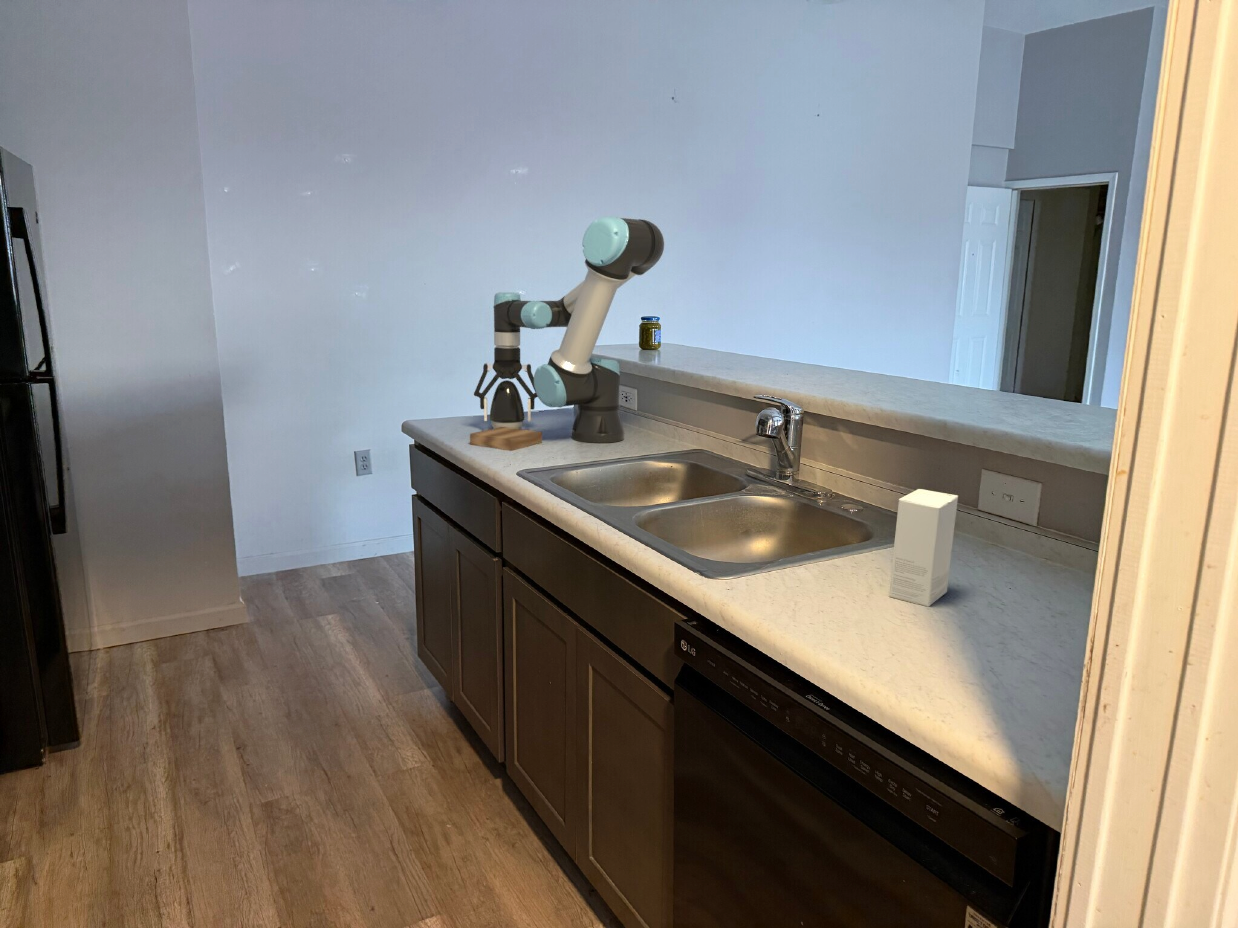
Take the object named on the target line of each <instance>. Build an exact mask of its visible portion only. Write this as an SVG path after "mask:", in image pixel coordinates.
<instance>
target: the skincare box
mask: <svg viewBox="0 0 1238 928" xmlns="http://www.w3.org/2000/svg"><path fill="white" fill-rule="evenodd" d="M958 501H959V495H957V494H950V493H945V492H939V491H935V490H934V491H933V490H927V489H923V488H917V489H916V490H914V491H912V492H910V493H908V494H907V495H905V496H902V497H901V498H898V507H897V513H896V514H897V516H896V526H895V533H894V534H895V535H894V536H895V537H894V543H893V544H894V545H893V555H892V564H891V574H890V580H889V583H890V584H889V589H888V590H889V591H888V597H889V598H892V599H895V600H900V601H905V602H908V603H912V604H916V605H919V606H924V607H930V606H931V605H933V604H934V603H935V602H936V601H938V600H939V599H940V598H941V597H943V595H945V594H946V593H947V592H948V583H949V575H950V568H951V567H950V566H951V558H952V552H953V551H952V550H953V542H954V534H955V532H954V531H955V525H956V517H957V509H958Z"/></svg>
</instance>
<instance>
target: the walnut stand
mask: <svg viewBox="0 0 1238 928" xmlns="http://www.w3.org/2000/svg"><path fill="white" fill-rule="evenodd" d="M542 443H543V432H542V431H538V430H529V429H521V428H520V429H515V428H507V427H498V428H490V429H485V430H481V431H476V432H472V433H469V444H470V446H478V447H483V448H490V449H491V448H492V449H497V448H498V449H499V450H503V451H504V450H505V451H516V450H520V449H522V448H528V447H532V446H535V445H538V444H542Z"/></svg>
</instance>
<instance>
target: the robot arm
mask: <svg viewBox="0 0 1238 928" xmlns="http://www.w3.org/2000/svg"><path fill="white" fill-rule="evenodd" d="M664 240H665V239H664V236H663V233H662V232H661V230H660V229H659V227H658V226H657V225H656V224H654V223H653V222H651V221H650V220H646V219H637V218H625V217H618V216H608V217H607V216H605V217H604V216H603V217H600V218H597V219H595V220H594V221H592V223H590V224H589V225H588V227H587V228H586V230H585V231H584V235H583V238H582V245H581V246H582V247H583V249H582V253H583V256H584V258H585V261H584V264H585V266H586V268H587V272H586V274H585V277H584V280H582V281H581V282H579V284H577V285H576V286H575V287H574V288H573V289H571V290H569V292H568V293H566V294H565V295H564V296H563V297H561V298H560V299H558V300H522V299H521V295H520V293H519V292H497V293H494V296H493V331H494V332H493V343H494V344H493V345H494V346H495V347H494V348H493V349H494V352H493V354H494V355H493V356H494V359H493V360H494V361H493V364H491V363H487V362H486V363H484V364H483V370H482V371H483V372H482V374H481V376H480V379H479V381H478V383H477V386H476V388H475V390H474V392H473V396H474V397H477V398H479V403H480V404H479V405H480V406H479V407H480V409H481V410H483V415H484V416H483V417H484V418H483V421H484V422H487V421H488V398H487V397H486V395H487V394H488V393H489V391H490V390H491V389H492V388H493V386H494V385H495V384H496V383H497V381H498V380H499V379H501V380H507V379H508V380H513V379H516V381H517V383H519V384H520V386H521V387H522V389H523V390H524V391H525V392H526V394H527V395H528V396H529V397H528V398H527V421H528V422H531V414H532V413H531V410H535V400H536V398H538V399H539V401H540V402H541V403H542V404H543V405H545V406H546V407H549V408H559V409H560V408H563V407H570V406H577V413H576V416H575V419H574V422H573V424H572V427H571V439H572V440H574V441H579V442H584V443H593V444H594V443H596V444H598V443H599V444H601V443H603V444H604V443H606V444H607V443H615V442H621V441H623V440H624V439H625V430H624V426H623V422H622V420H621V416H620V411H619V410H620V409H619V408H620V407H619V405H620V382H621V381H620V380H621V379H620V377H621V373H620V364H619V362H618V361H617V360H615V359H606V358H598V357H592V354H593V351H594V349H595V346H596V344H597V341H598V339H599V337H600V334H601V331H602V328H603V326H604V323H605V320H606V319H607V315H608V313H609V310H610V308H611V306H612V303H613V300H614V297H615V295H616V292H617V291H618V289H619V288H621V287H622V286H623V285H625V284H626V283H627V282H628V281H630V280H631V279H633V278H634V277H635V276H643V275H644V274H645V273H647V272H648V271H650V270H651V269H652V268H653V267H654V266H655V265H657V263H658V262H659V260H661V257H662V256H663V253H664V249H665V241H664ZM521 328H526V329H531V330H543V329H547V328H566V329H565V332H564V335H563V338H562V341H561V344H560V346H559V348H558V349H555V350H553V351H552V352H551V353H550V357H549V360H548V361H547V363H544V364H541V365H540V366H538V367H537V368H536V370H535V372H534V374H533V373H532V365H531V364H530V363H527V364H522V362H521V348H520V347H519V346H521ZM491 369H493V371H494V372H495V375H494V376H493V378H492V379H490V382H489V383H488V384H487V386H486V387H485V388H484V390H482V392H480V391H481V388H482V386H483V383H484V381H485V379H486V376H487V375H488V373H489V372H490V371H491ZM522 369H523V371H524V372H525V373H527V375H528V378H529V381H530V383H531V385H532V388H533V390H534V392H533V391H532V390H531V389H530V387H529V386H528V384H527V383H526V382H525V380H524V378H522V377H521V375H520V371H521V370H522Z"/></svg>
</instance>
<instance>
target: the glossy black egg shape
mask: <svg viewBox="0 0 1238 928" xmlns="http://www.w3.org/2000/svg"><path fill="white" fill-rule="evenodd" d="M523 404H524V403H523V401H522V397H521V394H520V392H519V389H518V387H517V385H516V384H515V383H514V382H513V381H511V380H510V379H508V380H507V379H504V380H502V381H501V382H499V383H498V385H497V386H496V388H495V390H494V393H493V397H492V400H491V404H490V411H489V421H490V422H491V426H492V429H494V428H498V427H507V428H515V429H521V428H522V427H523V424H524V421H525V419H526V418H525V409H524V405H523Z"/></svg>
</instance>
